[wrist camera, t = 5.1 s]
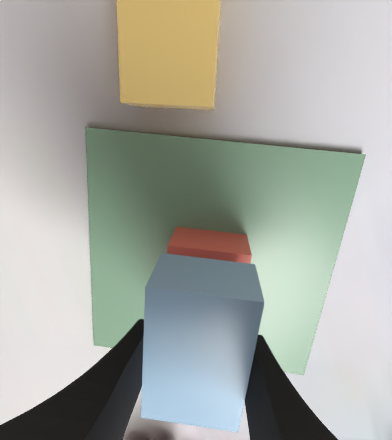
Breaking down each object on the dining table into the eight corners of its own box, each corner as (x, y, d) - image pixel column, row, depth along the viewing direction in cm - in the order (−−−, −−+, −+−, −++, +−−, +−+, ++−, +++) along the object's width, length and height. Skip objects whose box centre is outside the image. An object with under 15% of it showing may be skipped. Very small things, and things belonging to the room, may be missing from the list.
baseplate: (362, 154, 16) (365, 154, 15) (302, 370, 21) (303, 374, 20) (88, 127, 16) (85, 127, 16) (96, 341, 22) (93, 345, 21)
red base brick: (246, 234, 17) (251, 255, 14) (232, 325, 20) (234, 359, 17) (176, 226, 18) (167, 245, 15) (169, 317, 20) (161, 349, 17)
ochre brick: (224, -41, 14) (225, -86, 11) (214, 110, 16) (212, 106, 13) (135, -42, 14) (113, -86, 11) (138, 107, 16) (120, 102, 13)
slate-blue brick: (255, 264, 13) (264, 302, 10) (235, 375, 15) (238, 432, 12) (161, 252, 13) (145, 287, 10) (155, 364, 16) (140, 417, 13)
